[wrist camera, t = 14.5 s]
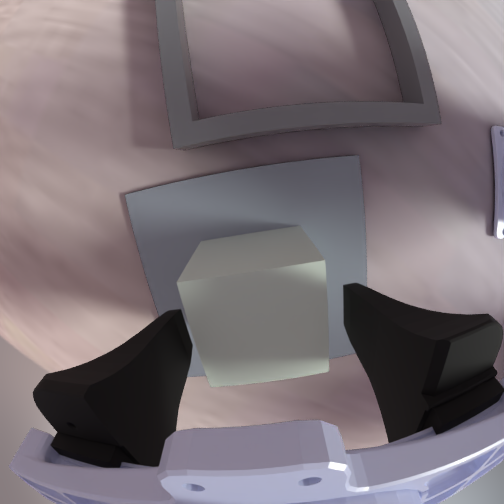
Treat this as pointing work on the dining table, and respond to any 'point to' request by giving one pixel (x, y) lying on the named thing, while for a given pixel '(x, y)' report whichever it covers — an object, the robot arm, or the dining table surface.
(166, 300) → the slate mat
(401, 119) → the grey square frame
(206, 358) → the block
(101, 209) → the dining table surface
